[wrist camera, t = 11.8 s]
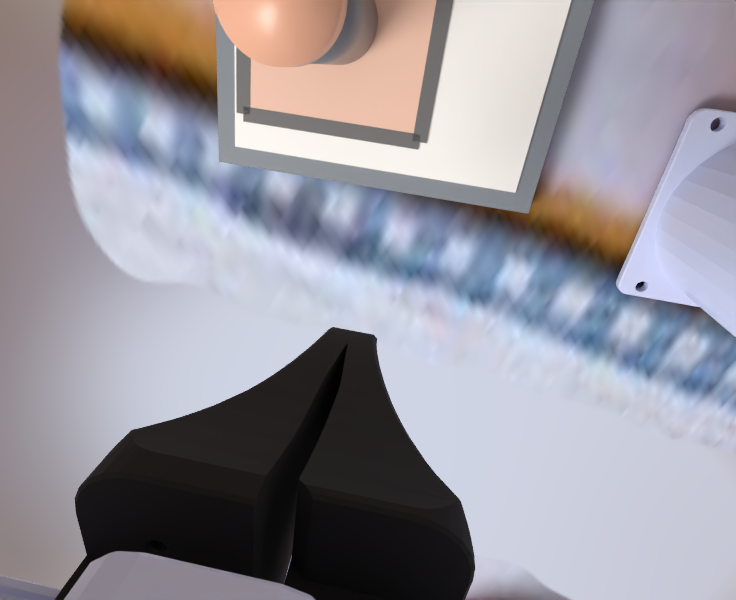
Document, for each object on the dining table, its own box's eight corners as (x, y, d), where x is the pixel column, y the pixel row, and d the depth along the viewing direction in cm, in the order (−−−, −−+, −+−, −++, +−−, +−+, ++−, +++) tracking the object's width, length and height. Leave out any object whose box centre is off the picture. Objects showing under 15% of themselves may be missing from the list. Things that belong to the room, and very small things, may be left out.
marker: (369, 77, 17) (325, 81, 11) (292, 55, 17) (207, 48, 11) (390, -20, 16) (351, -76, 10) (305, -43, 16) (214, -113, 10)
